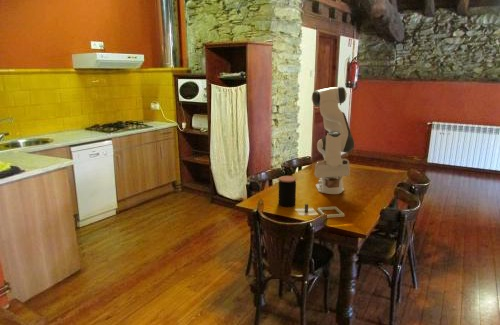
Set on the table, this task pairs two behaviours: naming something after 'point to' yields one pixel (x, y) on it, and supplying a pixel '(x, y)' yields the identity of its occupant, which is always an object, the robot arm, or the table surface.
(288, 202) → the coffee jar
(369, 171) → the table surface
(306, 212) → the stake
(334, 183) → the brown square block
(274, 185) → the table surface
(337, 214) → the grey square frame
